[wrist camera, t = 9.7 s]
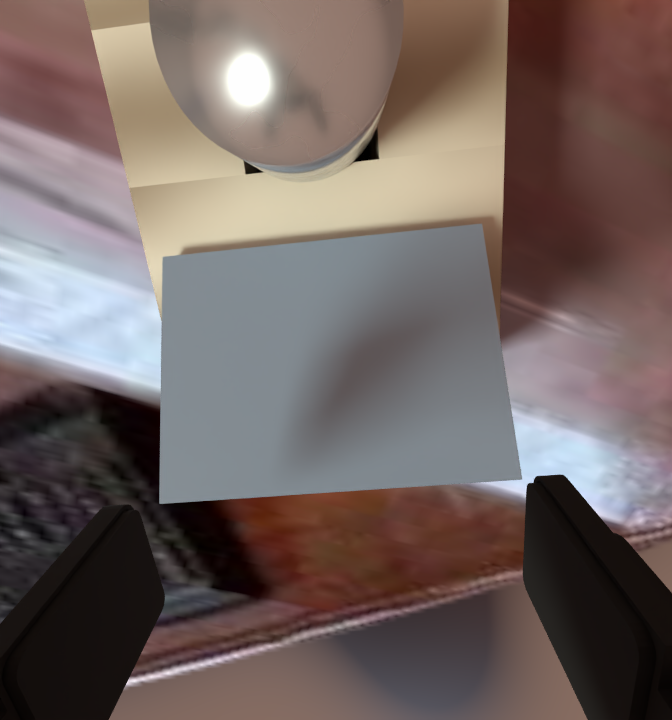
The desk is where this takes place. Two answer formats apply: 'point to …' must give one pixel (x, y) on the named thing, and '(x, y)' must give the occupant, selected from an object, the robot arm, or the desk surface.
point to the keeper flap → (333, 368)
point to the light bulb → (281, 76)
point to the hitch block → (343, 190)
